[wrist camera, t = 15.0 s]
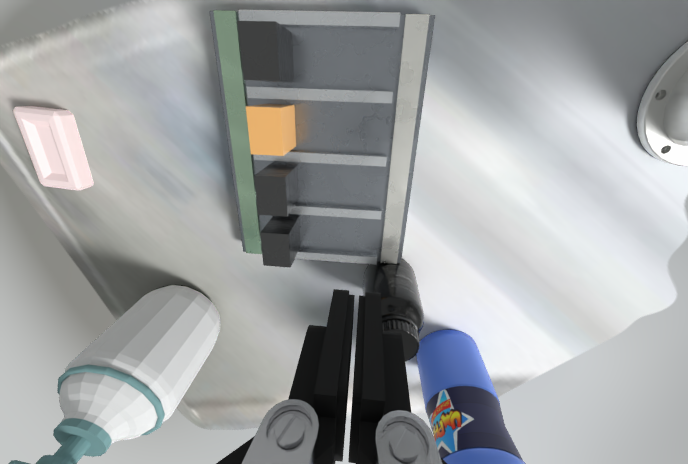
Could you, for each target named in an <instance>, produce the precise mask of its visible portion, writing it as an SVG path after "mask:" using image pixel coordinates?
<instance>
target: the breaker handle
mask: <svg viewBox="0 0 688 464" xmlns="http://www.w3.org/2000/svg"><path fill="white" fill-rule="evenodd" d="M246 114H247V123H248V132H249V142H250V151H251V154H255V155H275V156H284V155H285V154H286V153H288V152H289V151H290V150H292V149H293V148H294V147H296V129H295V105H282V104H260V105H253V106H246Z"/></svg>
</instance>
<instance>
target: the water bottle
mask: <svg viewBox="0 0 688 464" xmlns="http://www.w3.org/2000/svg"><path fill="white" fill-rule="evenodd" d="M419 343H420V346H419V350H418V353H416V356H417V362H418V368H419V374H420V380H421V386H422V392H423V397H424V403H425V409H426V413H427V415H428V418H429V422H430V425H431V428H432V431H433V434H434V439H435V442H436V445H437V448H438V451H439V454H440V457H441V458H442V459H443V460H444V461H445V462H446V463H447V464H525V462H523V460H522V458H521V456H520V454H519V452H518V450H517V448H516V446H515V445H514V443H513V441H512V439H511V437H510V435H509V433H508V431H507V429H506V427H505V424H504V420H503V416H502V412H501V408H500V403H499V400H498V397H497V394H496V392H495V389H494V387H493V384H492V382H491V379H490V377H489V374H488V372H487V370H486V367H485V365H484V362H483V360H482V357H481V355H480V352H479V350H478V347H477V345H476V343H475V341H474V340H473V339H472V338H471V337H470V336H469V335H467V334H466V333H463V332H461V331H457V330H440V331H436V332H433V333H430V334H429V335H427V336H425V337H424V338H423V339H422V340H421V341H420V342H419Z"/></svg>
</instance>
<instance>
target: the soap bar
mask: <svg viewBox="0 0 688 464" xmlns="http://www.w3.org/2000/svg"><path fill="white" fill-rule="evenodd" d="M13 113H14V115H15V118H16V120H17V123H18V126H19V128H20V131H21V134H22V136H23V139H24V141H25V144H26V147H27V149H28V152H29V155H30V157H31V160H32V162H33V165H34V168H35V170H36V173H37V176H38V178H39V181H40V183H41V184H42V185H44V186H47V187H55V188H63V189H71V190H79V191H80V190H83V189H86V188H89V187H91V186H92V185H93V184H94V182H93V178H92V175H91V172H90V168H89V165H88V162H87V158H86V155H85V152H84V148H83V145H82V141H81V138H80V135H79V131H78V128H77V125H76V121H75V118H74V115H73V114H72V113H71V112H70V111H69V110H62V109H54V108H45V107H36V106H20V107H15V108H14V109H13Z"/></svg>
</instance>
